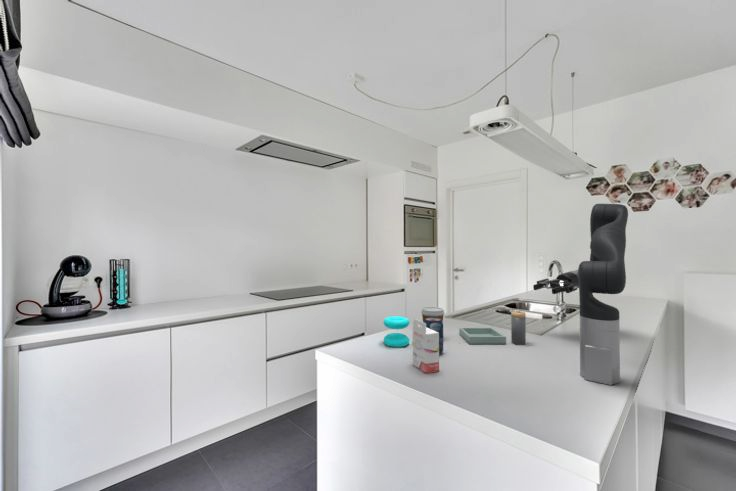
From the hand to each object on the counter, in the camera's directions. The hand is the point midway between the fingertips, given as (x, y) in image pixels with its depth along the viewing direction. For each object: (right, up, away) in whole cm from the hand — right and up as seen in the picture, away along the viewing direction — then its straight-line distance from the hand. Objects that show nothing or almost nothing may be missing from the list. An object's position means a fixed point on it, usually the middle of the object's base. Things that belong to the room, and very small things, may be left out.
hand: (543, 289), depth 127 cm
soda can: (-47, -21, -14) cm, 53 cm away
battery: (-12, -20, -4) cm, 24 cm away
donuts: (-59, -21, -4) cm, 63 cm away
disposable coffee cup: (-43, -21, +4) cm, 48 cm away
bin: (-24, -20, +2) cm, 32 cm away
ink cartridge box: (-52, -21, -28) cm, 63 cm away
